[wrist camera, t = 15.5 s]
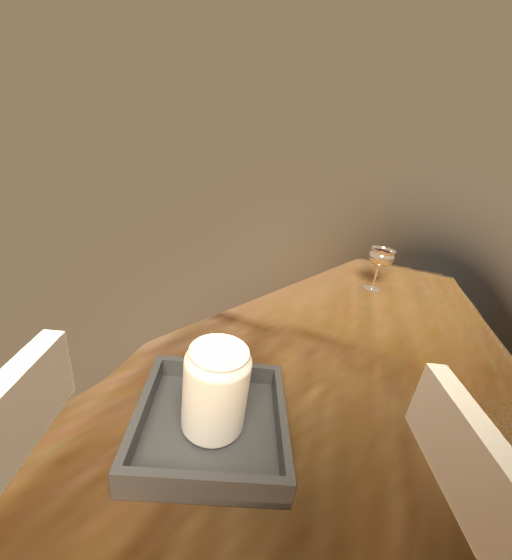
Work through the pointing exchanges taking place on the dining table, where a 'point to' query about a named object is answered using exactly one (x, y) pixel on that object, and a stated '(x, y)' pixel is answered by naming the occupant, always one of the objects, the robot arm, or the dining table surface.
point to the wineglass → (379, 262)
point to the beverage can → (215, 389)
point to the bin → (203, 461)
